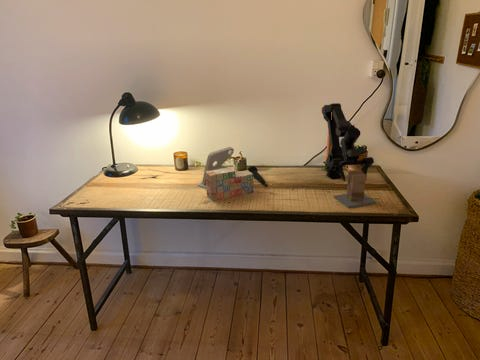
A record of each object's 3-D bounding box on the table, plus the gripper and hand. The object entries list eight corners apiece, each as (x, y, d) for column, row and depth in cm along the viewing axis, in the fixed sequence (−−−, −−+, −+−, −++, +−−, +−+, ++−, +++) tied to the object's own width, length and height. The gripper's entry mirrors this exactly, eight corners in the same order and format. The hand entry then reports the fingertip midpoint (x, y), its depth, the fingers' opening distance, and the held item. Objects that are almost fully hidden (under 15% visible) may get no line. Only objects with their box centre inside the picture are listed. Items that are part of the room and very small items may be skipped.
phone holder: (221, 175, 211) (220, 142, 204) (235, 180, 204) (234, 146, 198) (196, 185, 199) (194, 150, 192) (210, 190, 192) (208, 154, 186)
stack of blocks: (248, 188, 194) (247, 164, 190) (253, 192, 189) (253, 167, 185) (206, 195, 187) (205, 170, 182) (211, 200, 181) (209, 175, 177)
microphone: (269, 191, 197) (252, 174, 213) (273, 181, 195) (256, 164, 211) (260, 190, 195) (243, 173, 211) (264, 180, 193) (247, 163, 209)
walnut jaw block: (346, 196, 179) (348, 171, 175) (358, 195, 180) (361, 170, 176) (351, 201, 174) (353, 175, 170) (363, 200, 175) (365, 175, 170)
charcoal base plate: (360, 193, 185) (360, 191, 184) (376, 203, 174) (376, 201, 174) (333, 197, 181) (334, 195, 180) (348, 208, 170) (348, 206, 170)
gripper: (333, 141, 174) (339, 174, 168) (374, 139, 175) (382, 171, 169) (326, 153, 184) (332, 184, 178) (366, 151, 186) (373, 182, 179)
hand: (354, 180), depth 176 cm, fingers open, 9 cm apart
